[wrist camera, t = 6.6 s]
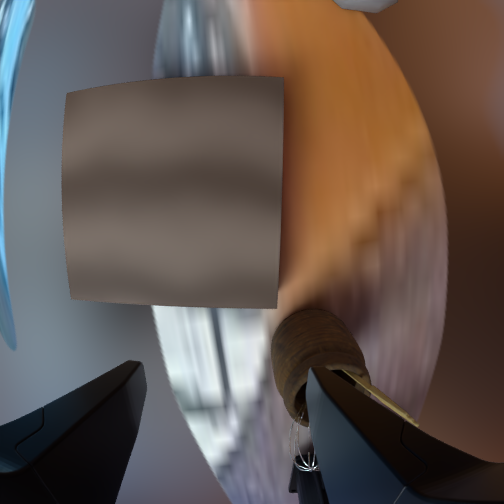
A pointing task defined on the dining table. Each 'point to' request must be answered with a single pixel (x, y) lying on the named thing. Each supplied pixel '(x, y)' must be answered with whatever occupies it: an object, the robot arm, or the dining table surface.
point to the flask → (365, 5)
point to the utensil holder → (318, 362)
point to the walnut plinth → (174, 191)
